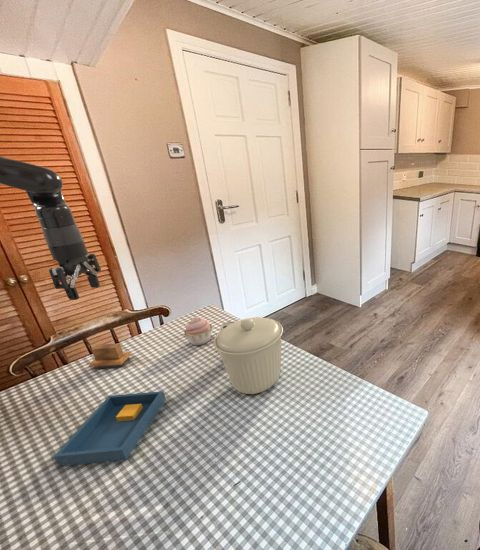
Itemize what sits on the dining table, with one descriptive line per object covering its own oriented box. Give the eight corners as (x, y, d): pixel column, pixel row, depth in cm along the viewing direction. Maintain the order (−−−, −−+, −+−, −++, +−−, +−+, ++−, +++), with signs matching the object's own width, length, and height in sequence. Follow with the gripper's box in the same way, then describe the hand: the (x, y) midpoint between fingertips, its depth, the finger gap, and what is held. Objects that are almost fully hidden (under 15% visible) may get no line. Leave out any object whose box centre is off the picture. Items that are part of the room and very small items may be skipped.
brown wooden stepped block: (91, 369, 95) (84, 351, 93) (102, 359, 100) (95, 342, 97) (122, 367, 96) (115, 349, 94) (132, 357, 101) (125, 340, 98)
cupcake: (203, 350, 104) (196, 325, 101) (180, 346, 107) (173, 321, 103) (221, 335, 113) (215, 311, 109) (199, 332, 115) (194, 309, 111)
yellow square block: (117, 421, 76) (115, 417, 75) (127, 409, 80) (125, 404, 79) (134, 420, 76) (132, 415, 76) (143, 407, 80) (141, 403, 80)
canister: (242, 415, 78) (227, 347, 70) (214, 381, 90) (199, 320, 82) (300, 380, 90) (293, 318, 82) (269, 354, 102) (261, 298, 94)
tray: (59, 468, 65) (53, 456, 64) (113, 405, 82) (109, 395, 80) (127, 461, 67) (122, 449, 65) (166, 401, 83) (163, 391, 82)
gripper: (70, 235, 92) (89, 284, 98) (27, 249, 79) (52, 304, 85) (97, 234, 92) (114, 283, 99) (59, 248, 79) (81, 303, 85)
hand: (85, 293), depth 92 cm, fingers open, 8 cm apart
